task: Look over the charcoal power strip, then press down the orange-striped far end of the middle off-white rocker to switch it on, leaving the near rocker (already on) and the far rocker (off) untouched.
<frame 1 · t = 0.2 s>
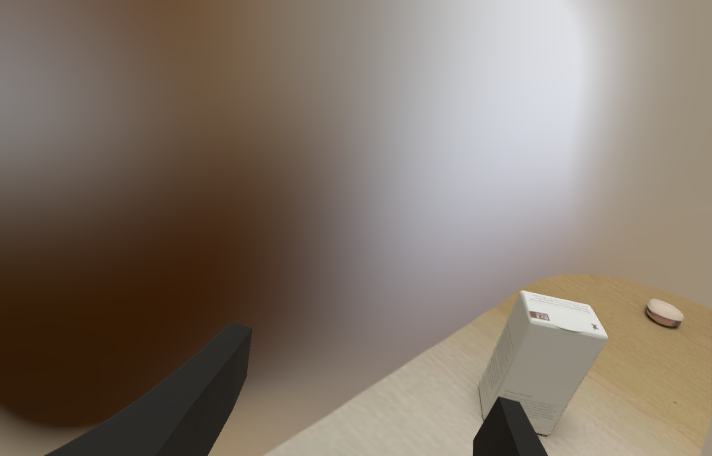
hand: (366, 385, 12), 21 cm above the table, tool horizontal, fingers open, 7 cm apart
skincare box: (509, 413, 40), on the table
white rounded oval piece: (656, 318, 59), on the table
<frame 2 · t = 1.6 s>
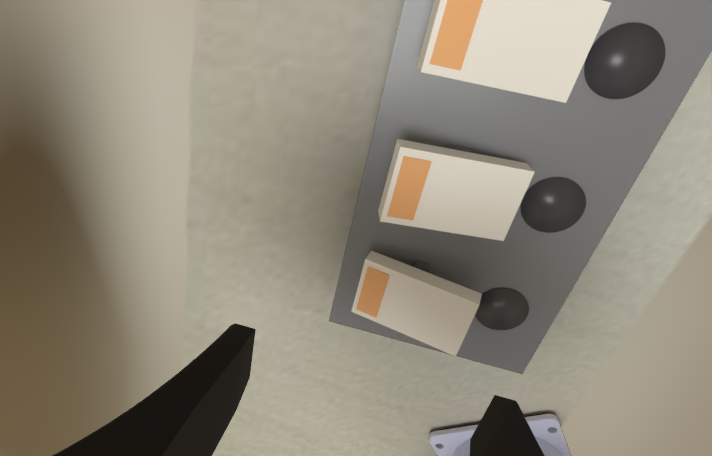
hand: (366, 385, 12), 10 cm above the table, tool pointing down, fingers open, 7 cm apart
rocker 3: (509, 36, 14), point 4 cm above the table, hinge at 12.0°
power strip: (482, 166, 20), on the table
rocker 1: (413, 303, 19), point 4 cm above the table, hinge at -12.0°
rocker 2: (453, 192, 16), point 4 cm above the table, hinge at 12.0°
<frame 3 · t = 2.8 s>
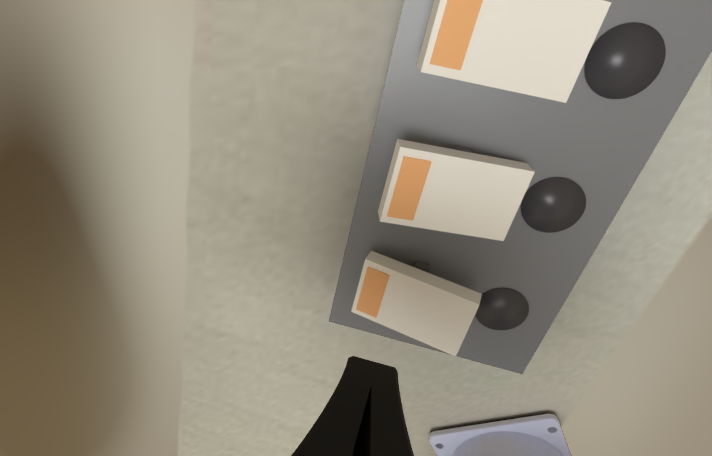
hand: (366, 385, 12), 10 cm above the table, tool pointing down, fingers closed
rocker 3: (509, 36, 13), point 4 cm above the table, hinge at 12.0°
power strip: (482, 166, 20), on the table
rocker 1: (413, 303, 19), point 4 cm above the table, hinge at -12.0°
rocker 2: (453, 192, 16), point 4 cm above the table, hinge at 12.0°
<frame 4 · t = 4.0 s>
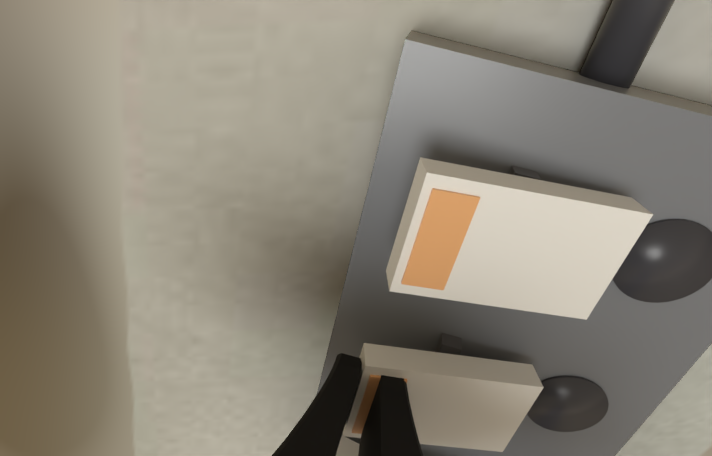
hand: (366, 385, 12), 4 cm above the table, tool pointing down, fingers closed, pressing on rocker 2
rocker 3: (510, 245, 10), point 4 cm above the table, hinge at 12.0°
power strip: (477, 327, 16), on the table
rocker 2: (437, 401, 13), point 4 cm above the table, hinge at 11.8°, touching gripper
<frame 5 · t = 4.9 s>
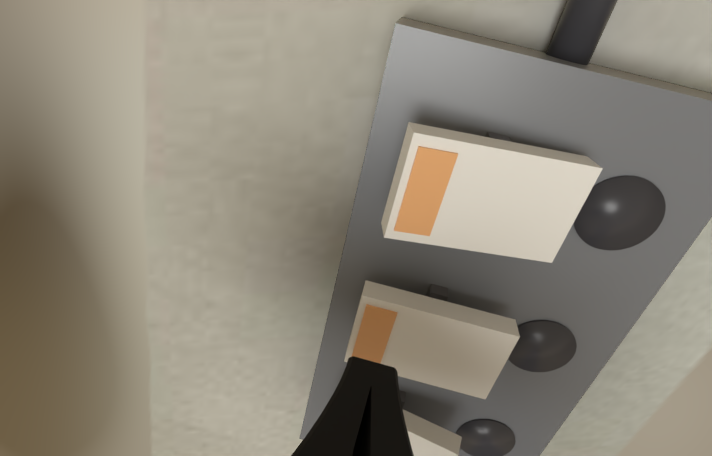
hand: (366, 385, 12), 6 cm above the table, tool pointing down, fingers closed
rocker 3: (485, 197, 12), point 4 cm above the table, hinge at 12.0°
power strip: (464, 285, 18), on the table
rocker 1: (387, 439, 17), point 4 cm above the table, hinge at -12.0°
rocker 2: (426, 342, 14), point 4 cm above the table, hinge at 0.4°
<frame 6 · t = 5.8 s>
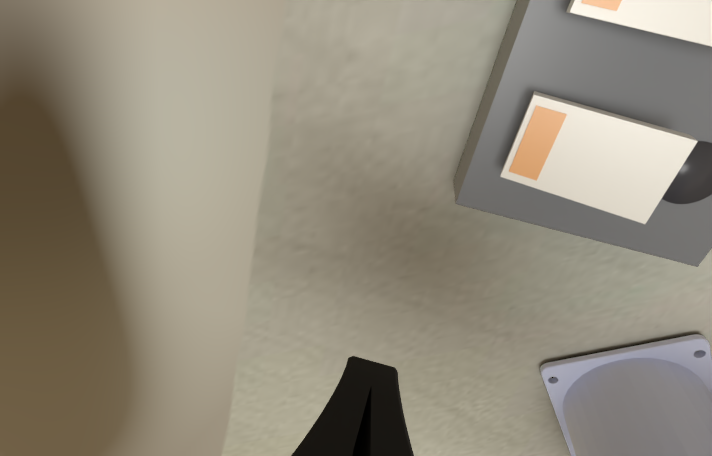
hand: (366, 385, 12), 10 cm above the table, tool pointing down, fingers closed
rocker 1: (589, 157, 15), point 4 cm above the table, hinge at -12.0°
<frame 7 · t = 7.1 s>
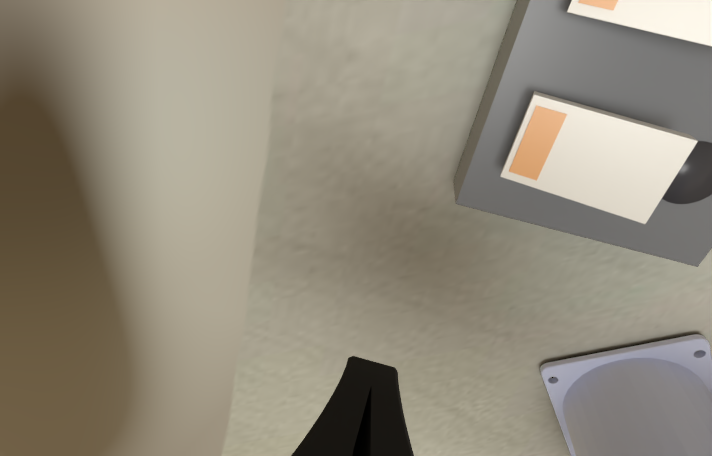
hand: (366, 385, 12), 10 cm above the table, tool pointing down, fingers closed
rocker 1: (589, 157, 15), point 4 cm above the table, hinge at -12.0°
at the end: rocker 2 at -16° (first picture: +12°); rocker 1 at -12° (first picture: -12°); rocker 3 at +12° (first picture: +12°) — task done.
